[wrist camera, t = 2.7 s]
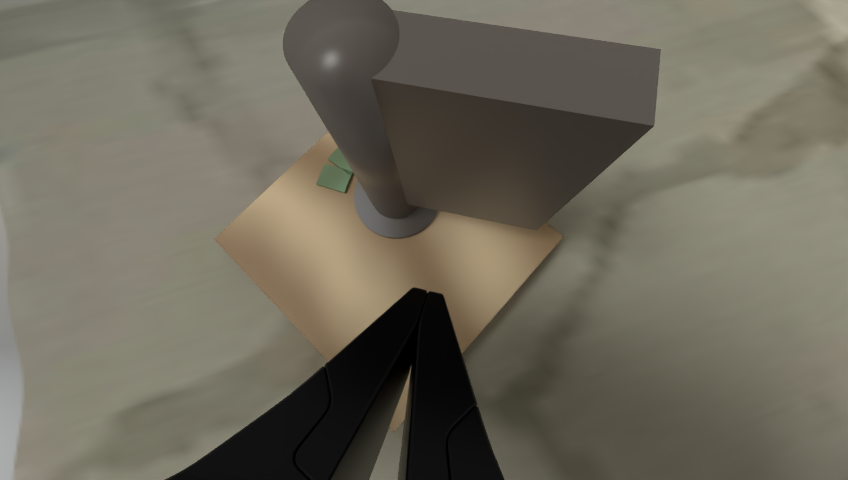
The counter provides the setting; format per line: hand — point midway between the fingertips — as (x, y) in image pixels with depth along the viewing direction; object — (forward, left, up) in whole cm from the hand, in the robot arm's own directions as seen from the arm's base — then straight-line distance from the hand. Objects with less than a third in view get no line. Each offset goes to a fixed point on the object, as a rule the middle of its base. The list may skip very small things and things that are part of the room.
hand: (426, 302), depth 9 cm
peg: (+6, +4, -6) cm, 9 cm away
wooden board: (+1, +4, -8) cm, 9 cm away
